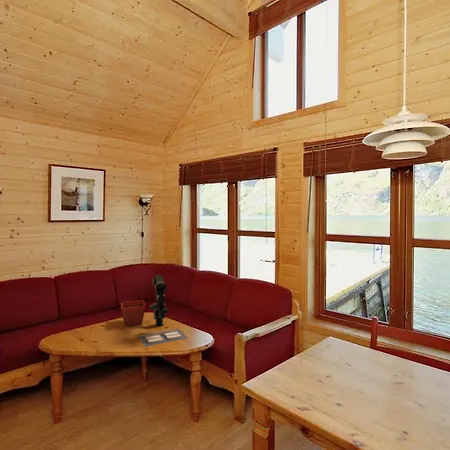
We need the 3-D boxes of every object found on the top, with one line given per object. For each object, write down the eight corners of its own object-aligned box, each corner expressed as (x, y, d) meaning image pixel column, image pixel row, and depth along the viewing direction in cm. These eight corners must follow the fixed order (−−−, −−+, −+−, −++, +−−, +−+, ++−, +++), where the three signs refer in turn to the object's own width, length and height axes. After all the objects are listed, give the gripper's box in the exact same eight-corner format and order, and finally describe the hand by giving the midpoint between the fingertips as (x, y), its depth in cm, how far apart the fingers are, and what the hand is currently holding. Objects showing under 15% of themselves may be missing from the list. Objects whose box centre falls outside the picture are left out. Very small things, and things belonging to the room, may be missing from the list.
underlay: (137, 336, 246) (137, 336, 246) (178, 328, 261) (178, 328, 261) (144, 347, 226) (144, 346, 226) (187, 338, 241) (187, 337, 241)
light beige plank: (146, 339, 240) (145, 337, 240) (159, 336, 244) (159, 334, 244) (149, 343, 231) (149, 341, 231) (163, 341, 235) (163, 339, 235)
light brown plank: (143, 336, 246) (143, 334, 246) (174, 330, 257) (174, 328, 257) (145, 338, 240) (144, 336, 240) (177, 332, 252) (177, 330, 252)
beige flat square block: (164, 335, 246) (164, 333, 246) (176, 333, 251) (176, 331, 251) (168, 340, 237) (168, 338, 237) (181, 337, 242) (181, 335, 242)
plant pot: (121, 320, 281) (121, 301, 280) (144, 318, 287) (143, 299, 286) (121, 328, 263) (121, 308, 262) (145, 325, 269) (145, 305, 268)
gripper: (147, 297, 253) (147, 317, 253) (153, 303, 236) (154, 324, 237) (161, 295, 258) (161, 315, 258) (168, 301, 241) (168, 322, 242)
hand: (161, 319), depth 249 cm, fingers closed
